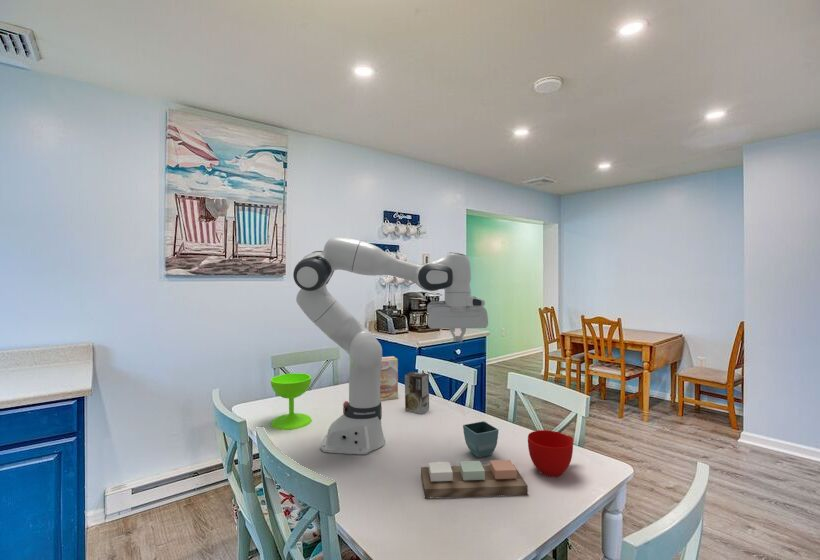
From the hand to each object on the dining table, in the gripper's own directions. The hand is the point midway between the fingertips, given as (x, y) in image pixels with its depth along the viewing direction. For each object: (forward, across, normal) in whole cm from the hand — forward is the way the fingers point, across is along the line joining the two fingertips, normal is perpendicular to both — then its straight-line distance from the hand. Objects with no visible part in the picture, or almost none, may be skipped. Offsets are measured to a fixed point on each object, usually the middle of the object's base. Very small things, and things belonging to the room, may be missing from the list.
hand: (457, 341), depth 134 cm
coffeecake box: (+37, -27, +58) cm, 74 cm away
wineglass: (+37, -63, +30) cm, 79 cm away
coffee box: (+37, -11, +40) cm, 56 cm away
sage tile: (+37, 0, -22) cm, 43 cm away
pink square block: (+37, +9, -22) cm, 44 cm away
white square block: (+37, -9, -22) cm, 44 cm away
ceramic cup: (+37, +27, -15) cm, 48 cm away
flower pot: (+37, +7, -3) cm, 38 cm away
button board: (+37, 0, -22) cm, 43 cm away
